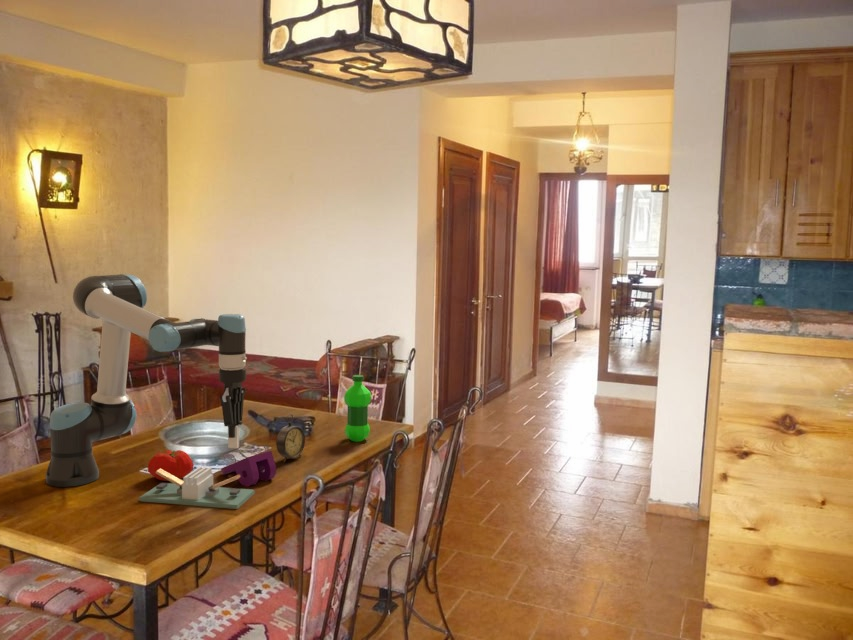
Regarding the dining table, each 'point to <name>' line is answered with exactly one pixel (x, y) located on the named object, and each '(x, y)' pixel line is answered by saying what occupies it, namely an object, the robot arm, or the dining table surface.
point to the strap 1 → (170, 477)
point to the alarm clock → (290, 441)
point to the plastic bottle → (357, 410)
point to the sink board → (203, 501)
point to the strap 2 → (224, 482)
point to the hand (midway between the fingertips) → (233, 447)
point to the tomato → (171, 464)
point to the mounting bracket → (253, 468)
